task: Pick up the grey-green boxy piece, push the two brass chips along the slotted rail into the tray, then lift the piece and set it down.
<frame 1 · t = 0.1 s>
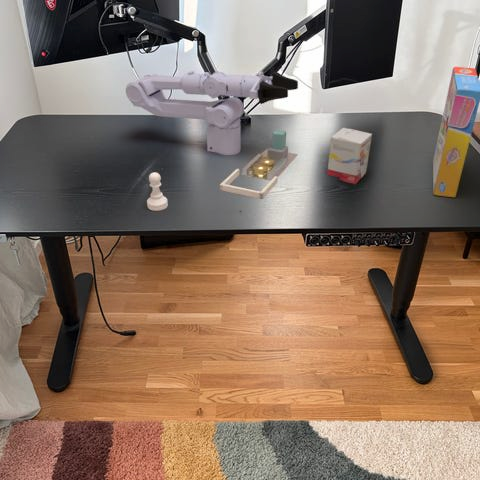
hand: (292, 88, 136), 22 cm above the table, tool horizontal, fingers open, 7 cm apart
grey-green boxy piece: (278, 155, 151), point 1 cm above the table, touching slotted rail
brass chip 1: (266, 167, 144), point 1 cm above the table, touching slotted rail
slotted rail: (264, 172, 143), on the table
ink box: (346, 175, 142), on the table
tray: (249, 189, 135), on the table
game box: (443, 180, 139), on the table
brass chip 2: (260, 174, 140), point 1 cm above the table, touching slotted rail
chess pawn: (157, 206, 128), on the table
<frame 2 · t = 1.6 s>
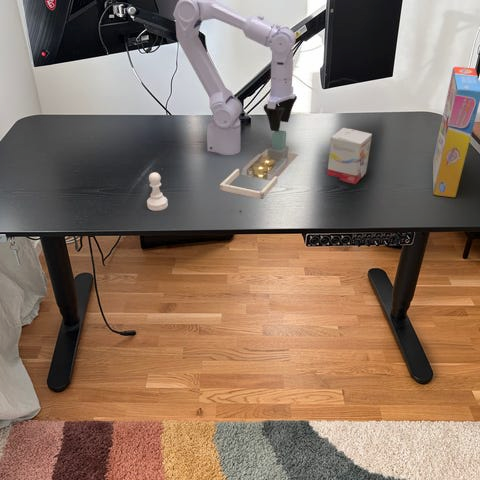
hand: (279, 126, 146), 10 cm above the table, tool pointing down, fingers open, 7 cm apart
nothing on the table moved.
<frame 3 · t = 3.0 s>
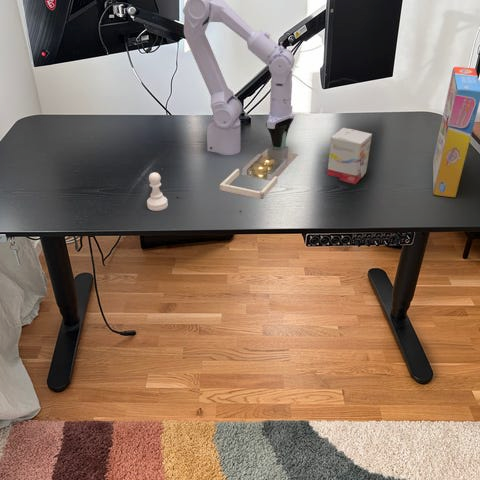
hand: (279, 144, 149), 4 cm above the table, tool pointing down, fingers closed on grey-green boxy piece, 3 cm apart
grey-green boxy piece: (278, 155, 151), point 1 cm above the table, touching gripper, slotted rail
everything else where it was.
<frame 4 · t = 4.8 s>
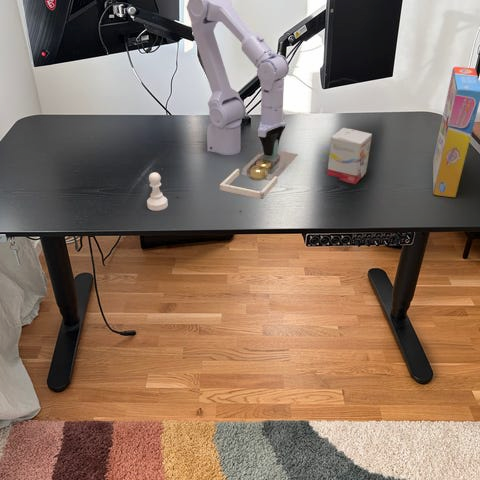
hand: (270, 152, 144), 4 cm above the table, tool pointing down, fingers closed on grey-green boxy piece, 3 cm apart
grey-green boxy piece: (270, 163, 146), point 1 cm above the table, touching gripper
brass chip 1: (263, 170, 142), point 1 cm above the table, touching brass chip 2
brass chip 2: (257, 176, 139), point 1 cm above the table, touching brass chip 1
everything else where it was.
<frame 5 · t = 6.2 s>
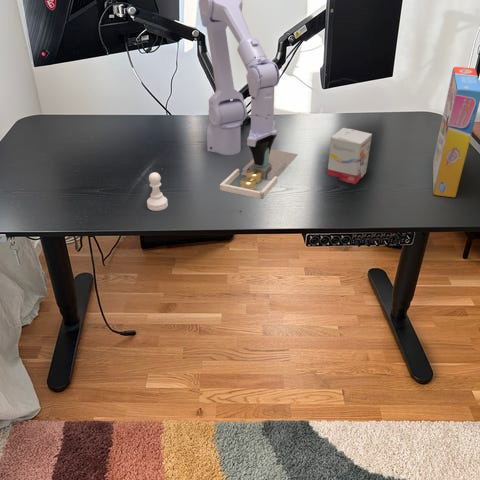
hand: (261, 161, 139), 4 cm above the table, tool pointing down, fingers closed on grey-green boxy piece, 3 cm apart
grey-green boxy piece: (261, 172, 141), point 1 cm above the table, touching brass chip 1, gripper
brass chip 1: (253, 180, 137), point 1 cm above the table, touching brass chip 2, grey-green boxy piece, slotted rail
brass chip 2: (248, 189, 134), resting on tray, touching brass chip 1
everything else where it was.
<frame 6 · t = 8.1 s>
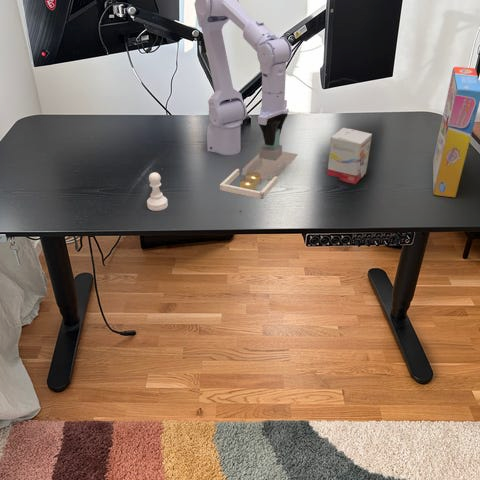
hand: (272, 142, 136), 10 cm above the table, tool pointing down, fingers closed on grey-green boxy piece, 3 cm apart
grey-green boxy piece: (271, 155, 138), point 6 cm above the table, touching gripper
brass chip 1: (253, 183, 137), resting on tray
brass chip 2: (247, 190, 134), resting on tray
everything else where it was.
when the fingers open (4 cm above the table, at t = 9.8 s): grey-green boxy piece stays where it is, on the table.
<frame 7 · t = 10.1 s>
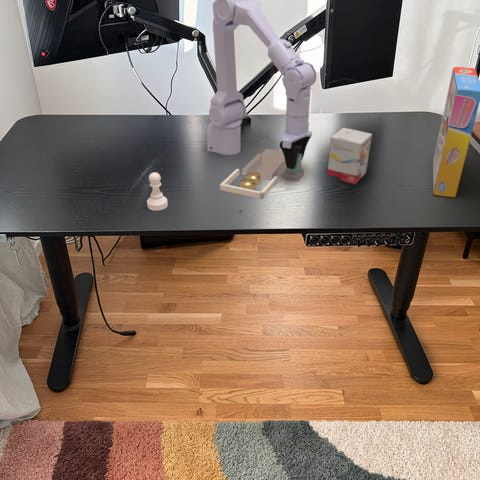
hand: (294, 163, 138), 4 cm above the table, tool pointing down, fingers open, 5 cm apart
grey-green boxy piece: (293, 178, 140), on the table
everything else where it was.
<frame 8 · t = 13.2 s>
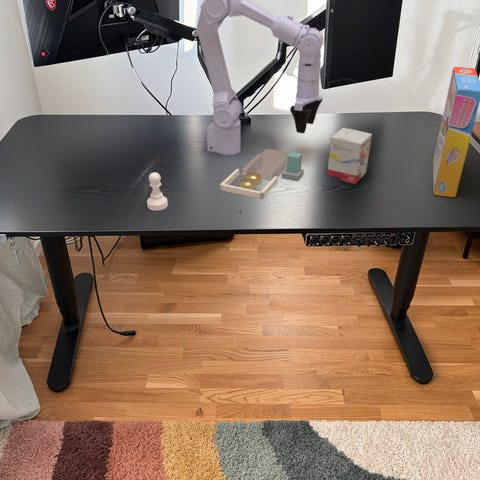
hand: (305, 127, 144), 10 cm above the table, tool pointing down, fingers open, 7 cm apart
nothing on the table moved.
at the end: brass chip 1 inside the target area (2.4 cm from its centre), resting on tray; brass chip 2 inside the target area (1.7 cm from its centre), resting on tray; grey-green boxy piece inside the target area (0.1 cm from its centre), on the table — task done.
